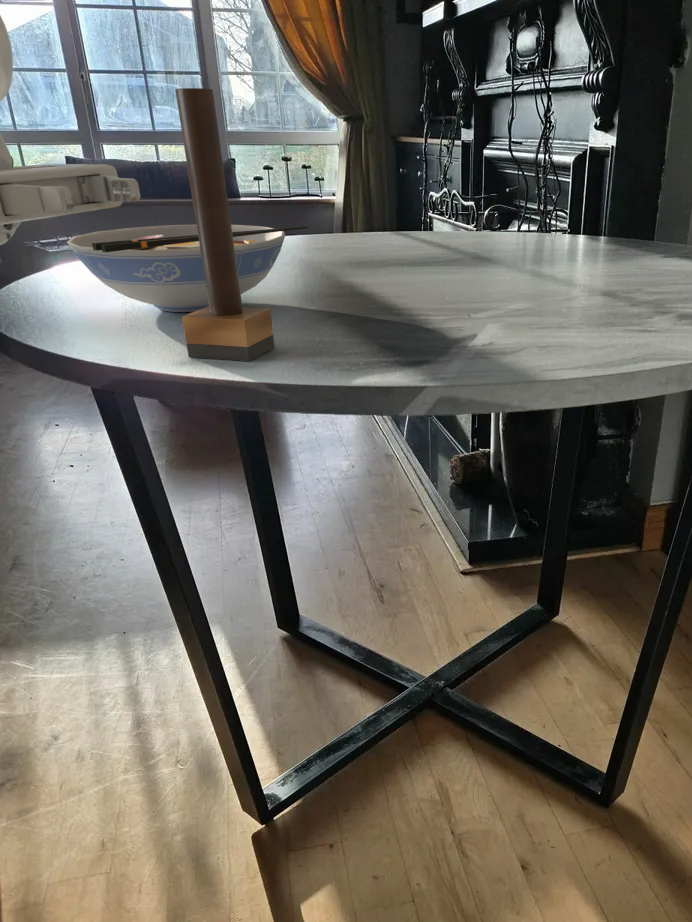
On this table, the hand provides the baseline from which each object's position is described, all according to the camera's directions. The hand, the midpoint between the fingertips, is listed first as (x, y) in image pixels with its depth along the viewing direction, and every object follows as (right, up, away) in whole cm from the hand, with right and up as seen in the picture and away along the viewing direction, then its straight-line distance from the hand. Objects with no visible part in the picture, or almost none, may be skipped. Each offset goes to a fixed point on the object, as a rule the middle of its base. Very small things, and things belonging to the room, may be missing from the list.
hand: (102, 194), depth 66 cm
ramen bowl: (0, -1, +22) cm, 22 cm away
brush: (+10, -12, +4) cm, 16 cm away
